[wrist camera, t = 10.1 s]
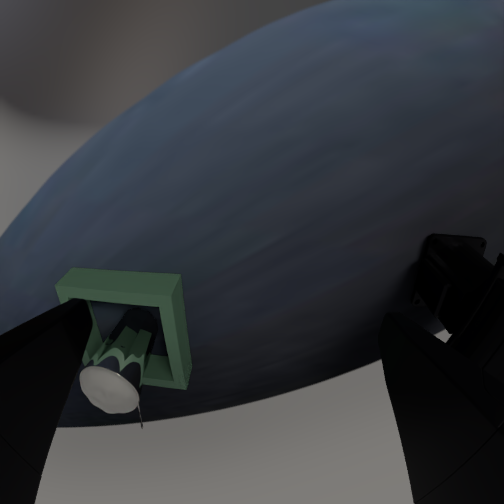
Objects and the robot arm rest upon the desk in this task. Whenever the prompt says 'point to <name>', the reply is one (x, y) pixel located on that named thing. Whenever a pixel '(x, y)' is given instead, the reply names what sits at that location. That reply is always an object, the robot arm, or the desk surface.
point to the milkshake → (121, 364)
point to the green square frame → (138, 293)
